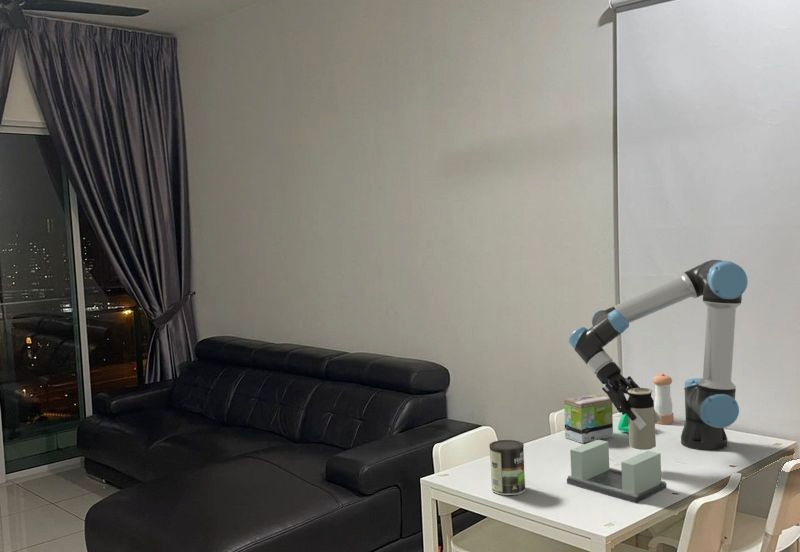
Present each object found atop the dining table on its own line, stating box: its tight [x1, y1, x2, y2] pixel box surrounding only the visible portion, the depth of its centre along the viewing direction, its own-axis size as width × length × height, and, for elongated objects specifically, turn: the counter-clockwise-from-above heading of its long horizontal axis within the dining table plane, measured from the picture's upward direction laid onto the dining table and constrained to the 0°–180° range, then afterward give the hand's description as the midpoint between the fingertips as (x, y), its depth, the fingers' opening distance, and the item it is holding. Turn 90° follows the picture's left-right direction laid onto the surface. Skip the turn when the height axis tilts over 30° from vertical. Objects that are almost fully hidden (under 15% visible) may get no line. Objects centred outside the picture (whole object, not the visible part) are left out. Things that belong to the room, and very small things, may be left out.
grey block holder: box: [569, 439, 662, 494], centre depth 221 cm, size 22×14×9 cm, turn 40°
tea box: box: [563, 393, 614, 444], centre depth 272 cm, size 15×10×15 cm, turn 118°
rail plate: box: [566, 466, 667, 504], centre depth 222 cm, size 24×16×2 cm, turn 40°
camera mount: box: [617, 413, 629, 434], centre depth 277 cm, size 12×8×10 cm, turn 123°
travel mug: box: [627, 387, 657, 451], centre depth 232 cm, size 8×8×18 cm
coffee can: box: [488, 439, 526, 496], centre depth 223 cm, size 10×10×14 cm
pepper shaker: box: [652, 372, 675, 425], centre depth 286 cm, size 7×7×19 cm
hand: (651, 424), depth 230 cm, fingers closed on travel mug, 8 cm apart
